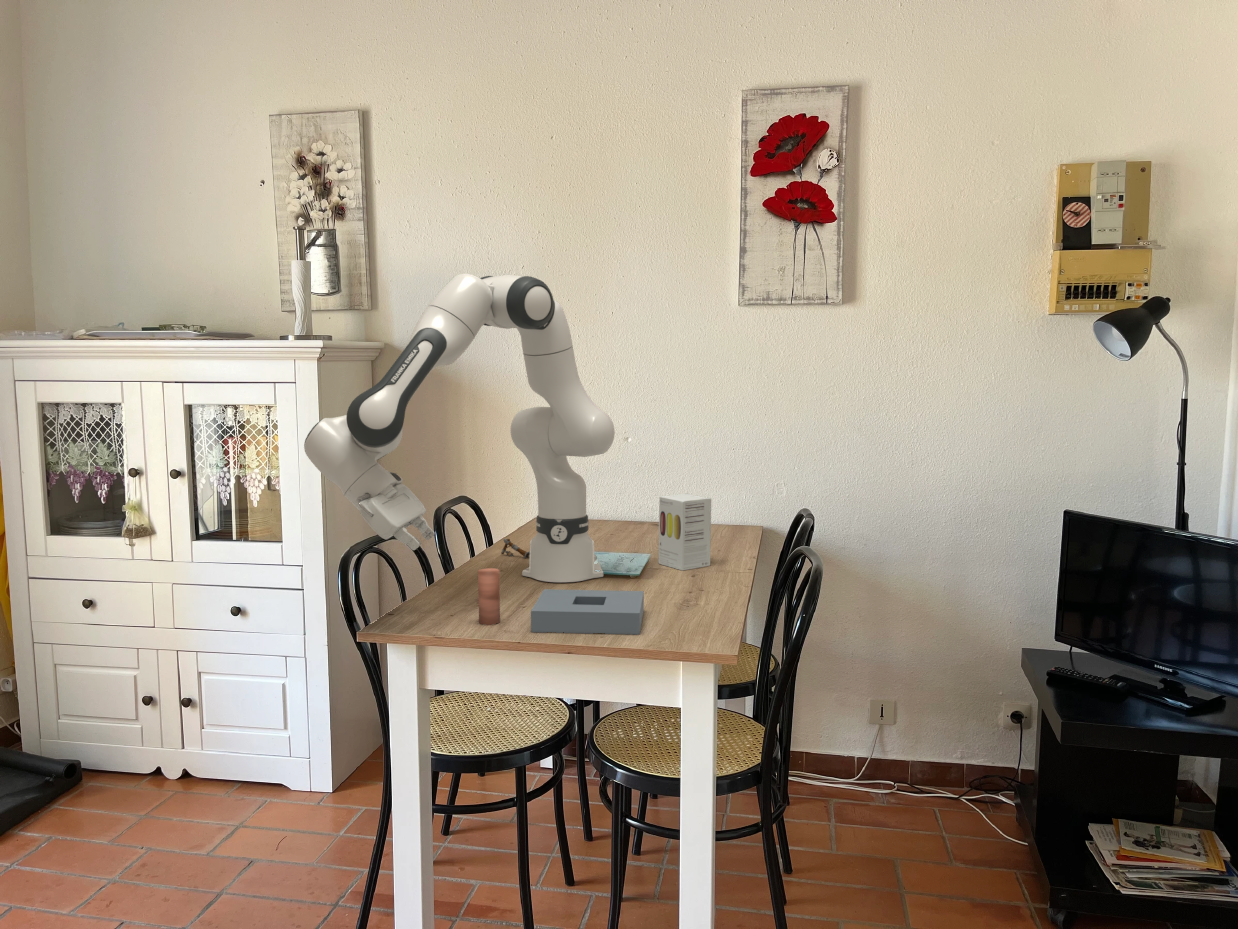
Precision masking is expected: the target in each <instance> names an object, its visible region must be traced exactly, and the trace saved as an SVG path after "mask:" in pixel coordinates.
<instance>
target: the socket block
mask: <svg viewBox="0 0 1238 929" xmlns="http://www.w3.org/2000/svg"><path fill="white" fill-rule="evenodd" d="M644 594H645V593H644V590H608V589H607V590H605V589H604V590H601V589H600V590H599V589H598V590H597V589H549V588H548V589H547V588H546V589H545V588H544V589H543V590H542V591H541V594H540V595H539V597H538V598H537V601H536V602H535V603H534V605H533V606H532V608H531V610H530V632H531V633H547V632H552V633H553V632H556V633H558V634H559V633H561V634H593V633H605V634H604V635H639V634H641V630H642V623H643V616H644V611H645V610H644V609H645V608H644V607H645V605H644V604H645V602H644V601H645V596H644ZM563 632H564V633H563ZM556 633H555V634H556Z"/></svg>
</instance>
